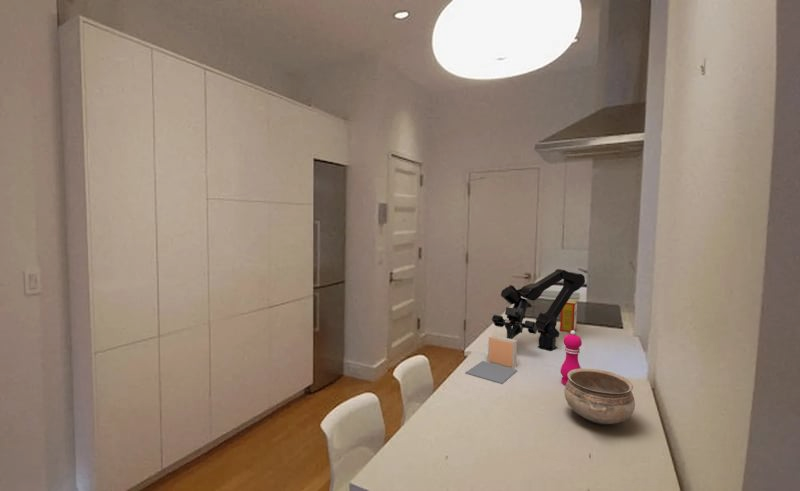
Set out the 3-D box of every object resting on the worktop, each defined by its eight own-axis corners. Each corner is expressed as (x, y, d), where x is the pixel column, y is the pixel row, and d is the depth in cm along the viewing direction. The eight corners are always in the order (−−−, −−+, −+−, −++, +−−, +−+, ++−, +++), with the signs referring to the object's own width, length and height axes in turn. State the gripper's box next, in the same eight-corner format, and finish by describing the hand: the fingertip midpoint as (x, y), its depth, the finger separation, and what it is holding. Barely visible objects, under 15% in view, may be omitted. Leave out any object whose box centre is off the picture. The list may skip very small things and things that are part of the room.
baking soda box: (573, 333, 201) (574, 303, 199) (559, 331, 204) (561, 301, 203) (576, 328, 209) (577, 299, 207) (563, 326, 212) (564, 298, 211)
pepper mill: (581, 381, 142) (584, 329, 141) (581, 390, 136) (584, 334, 134) (560, 378, 145) (562, 326, 144) (559, 386, 139) (561, 331, 137)
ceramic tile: (490, 360, 163) (491, 334, 162) (516, 366, 156) (517, 340, 155) (487, 362, 161) (488, 336, 160) (513, 369, 154) (514, 342, 153)
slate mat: (482, 361, 161) (482, 360, 161) (517, 370, 152) (517, 369, 152) (465, 373, 149) (465, 372, 149) (502, 384, 140) (502, 382, 140)
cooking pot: (637, 450, 101) (640, 405, 100) (560, 431, 110) (562, 390, 109) (630, 407, 124) (632, 370, 123) (566, 394, 132) (567, 360, 131)
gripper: (494, 296, 172) (482, 326, 164) (536, 303, 160) (525, 335, 152) (500, 310, 178) (489, 340, 171) (541, 317, 167) (531, 349, 159)
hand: (508, 340), depth 163 cm, fingers closed
